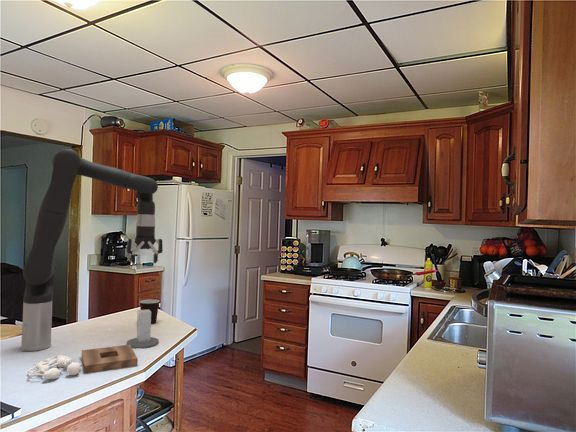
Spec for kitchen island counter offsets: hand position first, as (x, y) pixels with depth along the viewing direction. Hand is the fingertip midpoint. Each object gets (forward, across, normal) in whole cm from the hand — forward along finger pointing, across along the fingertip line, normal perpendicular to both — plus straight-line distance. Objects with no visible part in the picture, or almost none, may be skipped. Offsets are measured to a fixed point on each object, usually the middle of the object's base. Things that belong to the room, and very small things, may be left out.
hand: (144, 263), depth 171 cm
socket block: (+30, -16, -28) cm, 44 cm away
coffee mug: (+30, +7, +18) cm, 36 cm away
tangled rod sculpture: (+31, -33, -30) cm, 54 cm away
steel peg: (+29, -2, -13) cm, 32 cm away
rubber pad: (+30, -2, -13) cm, 33 cm away
